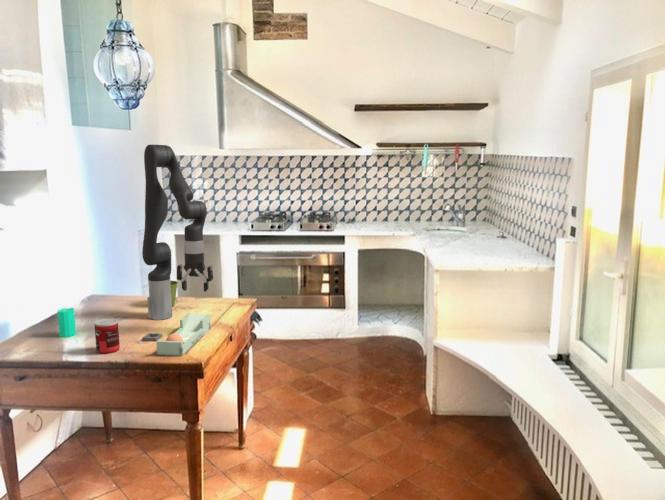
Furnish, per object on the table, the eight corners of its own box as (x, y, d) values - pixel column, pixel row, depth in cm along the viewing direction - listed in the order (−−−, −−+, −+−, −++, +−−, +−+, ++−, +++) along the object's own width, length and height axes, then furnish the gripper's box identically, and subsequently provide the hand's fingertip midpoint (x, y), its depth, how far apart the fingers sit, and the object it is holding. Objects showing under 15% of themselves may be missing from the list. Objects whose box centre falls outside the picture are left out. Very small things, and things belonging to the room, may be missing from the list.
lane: (157, 355, 187) (156, 338, 186) (189, 327, 218) (188, 313, 217) (182, 356, 186) (181, 339, 185) (211, 328, 217) (210, 313, 216)
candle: (79, 333, 211) (77, 304, 209) (67, 338, 206) (65, 308, 204) (68, 332, 213) (65, 303, 211) (56, 336, 208) (53, 307, 206)
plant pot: (162, 310, 243) (160, 287, 241) (149, 306, 251) (148, 283, 249) (184, 305, 252) (183, 282, 250) (171, 301, 260) (170, 279, 258)
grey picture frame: (142, 340, 202) (142, 337, 202) (148, 336, 208) (148, 333, 208) (156, 341, 202) (156, 338, 202) (162, 336, 207) (162, 333, 207)
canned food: (100, 347, 196) (98, 318, 194) (122, 346, 196) (120, 318, 194) (93, 354, 188) (90, 325, 186) (116, 353, 189) (114, 324, 187)
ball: (171, 340, 196) (165, 353, 191) (166, 329, 192) (161, 342, 187) (186, 340, 195) (181, 353, 190) (182, 330, 191) (177, 343, 186)
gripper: (173, 252, 206) (174, 292, 209) (208, 253, 205) (209, 294, 208) (180, 248, 213) (181, 287, 216) (214, 250, 212) (215, 289, 215)
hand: (195, 290), depth 212 cm, fingers open, 8 cm apart
